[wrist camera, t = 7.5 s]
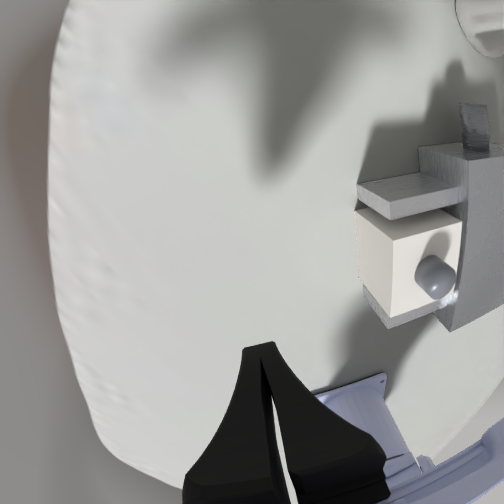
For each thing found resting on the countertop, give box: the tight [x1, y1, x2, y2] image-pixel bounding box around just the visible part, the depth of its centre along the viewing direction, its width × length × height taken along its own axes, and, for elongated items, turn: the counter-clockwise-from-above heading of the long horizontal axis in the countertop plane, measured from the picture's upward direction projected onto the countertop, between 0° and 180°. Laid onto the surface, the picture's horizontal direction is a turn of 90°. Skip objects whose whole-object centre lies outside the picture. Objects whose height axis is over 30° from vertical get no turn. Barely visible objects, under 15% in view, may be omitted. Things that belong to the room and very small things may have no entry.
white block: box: [354, 207, 462, 318], centre depth 17 cm, size 5×5×6 cm
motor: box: [357, 103, 504, 332], centre depth 17 cm, size 15×12×5 cm
